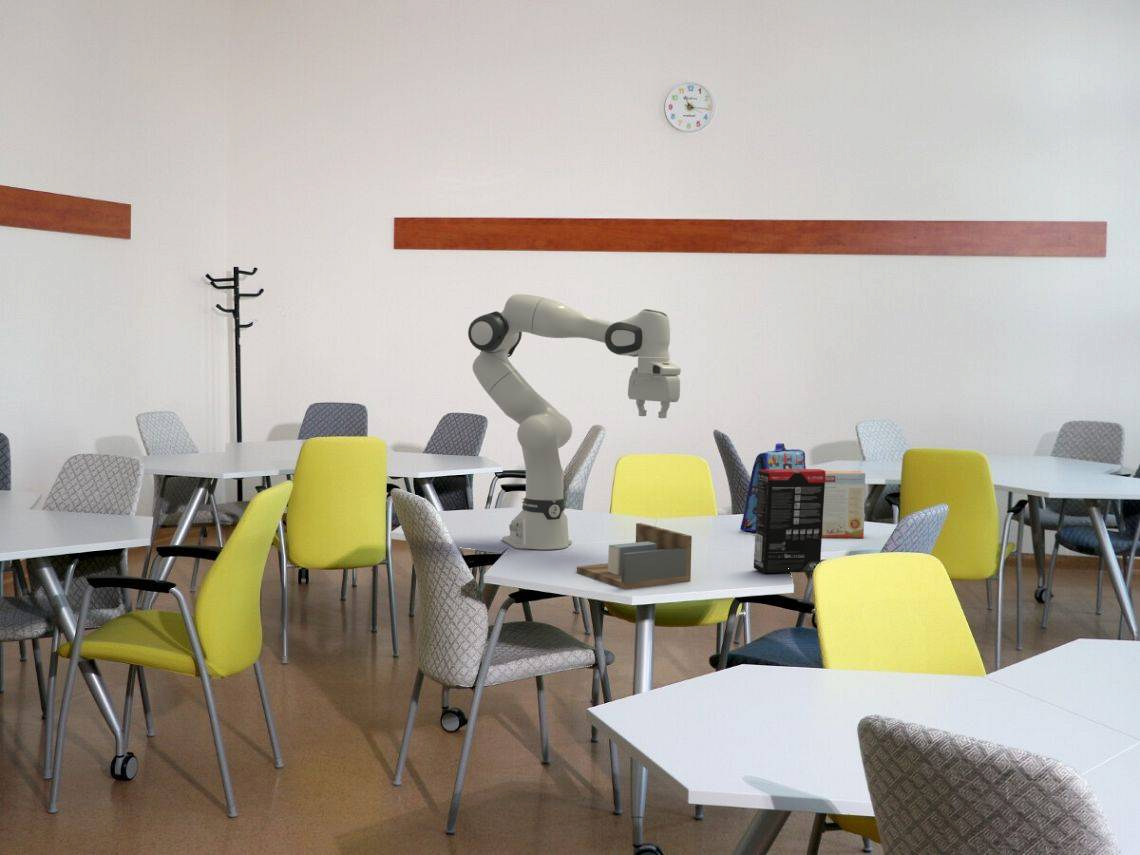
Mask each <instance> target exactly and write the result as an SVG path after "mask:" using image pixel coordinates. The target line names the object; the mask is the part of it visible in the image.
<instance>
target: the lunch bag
mask: <svg viewBox="0 0 1140 855" xmlns="http://www.w3.org/2000/svg"><path fill="white" fill-rule="evenodd" d="M765 469H807V467H806V452H805V451H803V450H802V449H797V448H796V449H794V448H793V449H791V448H790V449H787V448H786V447H785V443H783V442H782V443H781V442H780V443H779V442H777V443H775V447H774V450H769V451H766V452H761V453H758V454H757V456H756V458H755V460H754V463H753V466H752V471H751V474H750V480H749V485H748V489H747V490H748V491H747V494H746V499H745V504H744V510H743V514H742V515H743V517H742V521H741V524H740V531H743V532H745V531H749V532H753V533H754V532H755V533H756V515H757V495H758V475H759V470H765Z"/></svg>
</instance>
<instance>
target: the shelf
mask: <svg viewBox="0 0 1140 855" xmlns="http://www.w3.org/2000/svg"><path fill="white" fill-rule="evenodd" d="M692 539H693V536H692V535H690V534H686V533H682V532H679V531H674V530H669V529H665V528H661V527H659V526H658V527H657V526H655V525H651V524H646V523H642V522H638V523H635V543H637V542H647V541H648V542H652V543H655V544H657V550H660V549H670V548H680V547H684V548H687V555H686V576H681V577H672V578H664V579H656V580H647V581H639V582H631V583H623V582H621V578H622V575H618V576H617V575H614V574H611V573H608V562H607V563H599V564H590V565H589V564H587V565H581V566H579V565H577V566H576V573H577V574H580V575H583V576H586V577H589V578H591V579H595V580H598V581H600V582H603V583H605V584H606V583H607V584H609V585H611V586H615V587H617V588H619V589H623V590H631V589H637V588H638V589H639V588H645V587H647V588H648V587H654V586H662V585H663V586H664V585H670V584H671V585H672V584H679V583H688V582H692V581H691V578H692V577H691V576H692V575H691V574H692V573H691V572H692V542H693V541H692Z"/></svg>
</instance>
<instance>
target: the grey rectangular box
mask: <svg viewBox="0 0 1140 855" xmlns="http://www.w3.org/2000/svg"><path fill="white" fill-rule="evenodd" d="M650 550H657V544H655V543H652V542H648V541H647V542H637V543H636V542H628V543H617V544H609V545H608V555H607V556H608V560H607V563H608V573H611V574H614V575H617V576H618V575H622V553H631V552H641V551H650Z"/></svg>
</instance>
